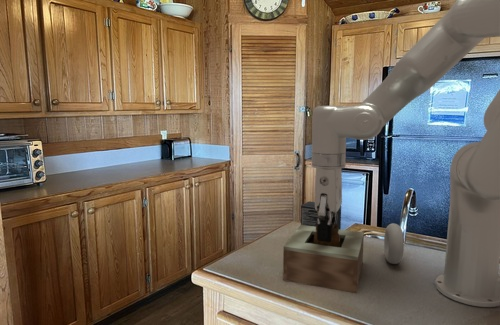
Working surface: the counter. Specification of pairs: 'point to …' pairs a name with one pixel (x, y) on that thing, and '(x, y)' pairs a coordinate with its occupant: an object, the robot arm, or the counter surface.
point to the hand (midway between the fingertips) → (326, 235)
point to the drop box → (324, 260)
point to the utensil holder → (335, 236)
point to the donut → (393, 243)
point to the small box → (315, 215)
